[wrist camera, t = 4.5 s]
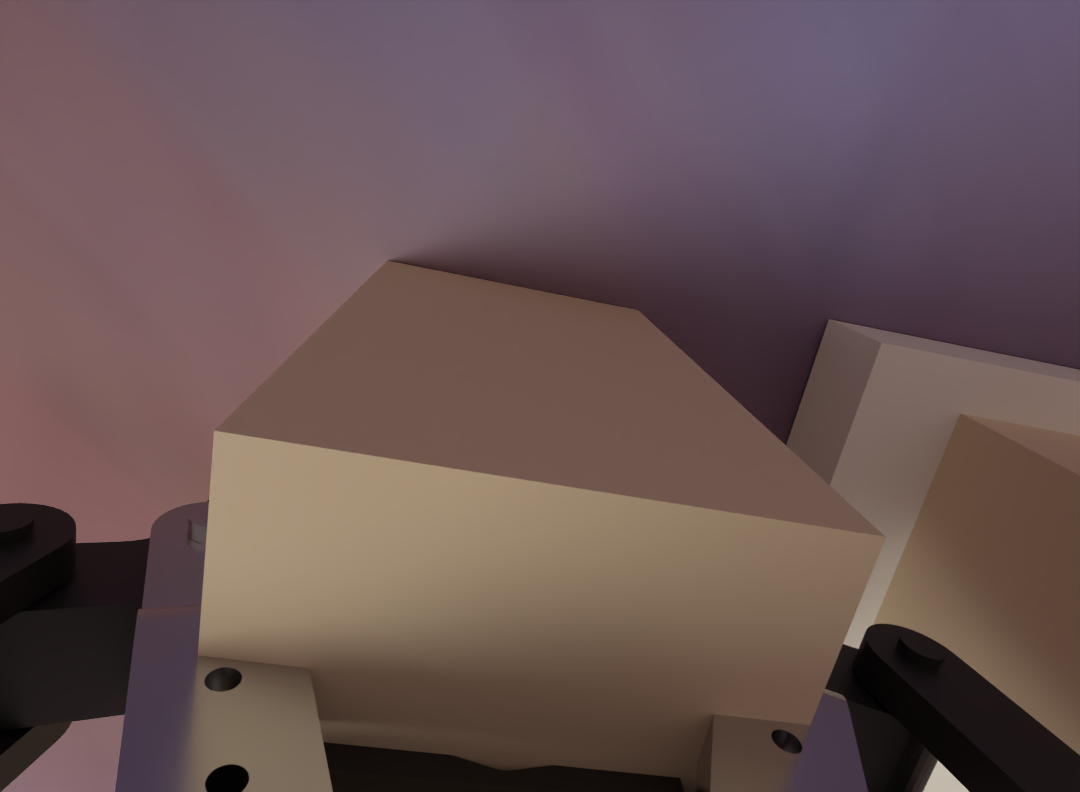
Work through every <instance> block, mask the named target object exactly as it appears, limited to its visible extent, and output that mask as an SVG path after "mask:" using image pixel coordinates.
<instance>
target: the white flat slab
mask: <svg viewBox="0 0 1080 792" xmlns="http://www.w3.org/2000/svg"><path fill="white" fill-rule="evenodd" d="M960 413H961V414H967V415H972V416H977V417H983V418H988V419H994V420H999V421H1004V422H1010V423H1015V424H1020V425H1026V426H1031V427H1037V428H1042V429H1047V430H1053V431H1058V432H1063V433H1069V434H1074V435H1080V370H1079V369H1074V368H1069V367H1064V366H1059V365H1054V364H1049V363H1044V362H1039V361H1034V360H1029V359H1024V358H1019V357H1014V356H1009V355H1004V354H999V353H994V352H989V351H984V350H979V349H974V348H969V347H964V346H959V345H954V344H949V343H944V342H939V341H934V340H929V339H924V338H920V337H915V336H910V335H905V334H900V333H895V332H890V331H885V330H880V329H875V328H870V327H865V326H860V325H855V324H850V323H845V322H840V321H835V320H830V319H829V320H828V323H827V326H826V329H825V332H824V335H823V338H822V341H821V344H820V347H819V350H818V353H817V355H816V358H815V361H814V364H813V367H812V370H811V373H810V376H809V379H808V382H807V385H806V388H805V391H804V394H803V397H802V400H801V403H800V406H799V409H798V412H797V415H796V418H795V421H794V423H793V426H792V429H791V432H790V435H789V438H788V441H787V444H786V446H787V447H788V448H789V449H790V450H791V451H793V452H794V453H795V454H796V455H797V456H798V457H799V458H800V459H801V460H802V461H803V462H805V463H806V464H807V465H808V466H809V467H810V468H811V469H812V470H813V471H814V472H815V473H817V474H818V475H819V476H820V477H821V478H822V479H823V480H824V481H825V482H826V483H828V484H829V485H830V486H831V487H832V488H833V489H834V490H835V491H836V492H837V493H838V494H840V495H841V496H842V497H843V498H844V499H845V500H846V501H847V502H848V503H849V504H850V505H852V506H853V507H854V508H855V509H856V510H857V511H858V512H859V513H860V514H861V515H862V516H864V517H865V518H866V519H867V520H868V521H869V522H870V523H871V524H872V525H873V526H875V527H876V528H877V529H878V530H879V531H880V532H881V533H882V534H883V535H884V536H885V537H886V538H885V541H884V543H883V546H882V548H881V551H880V553H879V556H878V558H877V561H876V563H875V565H874V568H873V570H872V573H871V575H870V578H869V580H868V583H867V585H866V588H865V590H864V593H863V595H862V598H861V600H860V603H859V605H858V608H857V610H856V613H855V615H854V618H853V620H852V623H851V625H850V628H849V630H848V633H847V635H846V638H845V640H844V643H843V644H844V645H847V646H851V647H854V648H857V649H859V646H860V644H861V641H862V639H863V637H864V634H865V632H866V630H867V628H868V627H870V626H871V625H873V623H874V621H875V619H876V616H877V614H878V611H879V609H880V607H881V604H882V602H883V599H884V597H885V594H886V592H887V590H888V587H889V585H890V582H891V580H892V577H893V575H894V573H895V570H896V568H897V565H898V563H899V561H900V558H901V556H902V553H903V551H904V548H905V546H906V544H907V541H908V539H909V536H910V534H911V532H912V529H913V527H914V524H915V522H916V519H917V517H918V515H919V512H920V510H921V507H922V505H923V503H924V500H925V498H926V495H927V493H928V490H929V488H930V486H931V483H932V481H933V478H934V476H935V474H936V471H937V469H938V466H939V464H940V461H941V459H942V457H943V454H944V452H945V449H946V447H947V445H948V442H949V440H950V437H951V435H952V432H953V430H954V428H955V425H956V423H957V420H958V418H959V416H960ZM923 792H969V791H968V790H967V789H966V788H965V787H964V786H963V785H962V784H961V783H960V782H959V781H958V780H957V779H956V778H955V777H954V776H953V775H952V774H951V773H950V772H949V771H948V770H947V769H946V768H945V767H944V766H943V765H942V764H941V763H940V762H939V761H937V763H936V766H935V768H934V770H933V772H932V774H931V776H930V778H929V780H928V782H927V784H926V786H925V788H924V791H923Z"/></svg>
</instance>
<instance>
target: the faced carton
mask: <svg viewBox="0 0 1080 792" xmlns="http://www.w3.org/2000/svg"><path fill="white" fill-rule="evenodd" d="M874 624H892V625H897V626H901V627H905V628H908V629H911V630H914V631H916V632H918V633H921V634H923V635H925V636H927V637H929V638H931V639H933V640H935V641H936V642H938V643H940V644H941V645H943V646H944V647H946V648H947V649H949V650H950V651H951V652H953V653H954V654H955V655H957V656H958V657H959V658H960V659H962V660H963V661H964V662H965V663H966V664H968V665H969V666H970V667H971V668H973V669H974V670H975V671H976V672H978V673H979V674H980V675H981V676H983V677H984V678H985V679H986V680H987V681H989V682H990V683H991V684H992V685H994V686H995V687H996V688H997V689H999V690H1000V691H1001V692H1002V693H1004V694H1005V695H1006V696H1007V697H1009V698H1010V699H1011V700H1012V701H1013V702H1015V703H1016V704H1017V705H1018V706H1020V707H1021V708H1022V709H1023V710H1025V711H1026V712H1027V713H1028V714H1030V715H1031V716H1032V717H1033V718H1034V719H1036V720H1037V721H1038V722H1039V723H1041V724H1042V725H1043V726H1044V727H1046V728H1047V729H1048V730H1049V731H1051V732H1052V733H1053V734H1054V735H1055V736H1057V737H1058V738H1059V739H1060V740H1062V741H1063V742H1064V743H1065V744H1067V745H1068V746H1069V747H1070V748H1072V749H1073V750H1074V751H1075V752H1076V753H1078V754H1079V755H1080V435H1074V434H1069V433H1063V432H1058V431H1053V430H1047V429H1042V428H1037V427H1031V426H1026V425H1020V424H1015V423H1010V422H1004V421H999V420H994V419H988V418H983V417H977V416H972V415H967V414H961V413H960V416H959V418H958V420H957V423H956V425H955V428H954V430H953V432H952V435H951V437H950V440H949V442H948V445H947V447H946V449H945V452H944V454H943V457H942V459H941V461H940V464H939V466H938V469H937V471H936V474H935V476H934V478H933V481H932V483H931V486H930V488H929V490H928V493H927V495H926V498H925V500H924V503H923V505H922V507H921V510H920V512H919V515H918V517H917V519H916V522H915V524H914V527H913V529H912V532H911V534H910V536H909V539H908V541H907V544H906V546H905V548H904V551H903V553H902V556H901V558H900V561H899V563H898V565H897V568H896V570H895V573H894V575H893V577H892V580H891V582H890V585H889V587H888V590H887V592H886V594H885V597H884V599H883V602H882V604H881V607H880V609H879V611H878V614H877V616H876V619H875V621H874V623H873V625H874Z"/></svg>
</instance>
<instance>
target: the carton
mask: <svg viewBox="0 0 1080 792" xmlns="http://www.w3.org/2000/svg"><path fill="white" fill-rule="evenodd" d="M885 538H886V537H885V536H884V535H883V534H882V533H881V532H880V531H879V530H878V529H877V528H876V527H875V526H873V525H872V524H871V523H870V522H869V521H868V520H867V519H866V518H865V517H864V516H862V515H861V514H860V513H859V512H858V511H857V510H856V509H855V508H854V507H853V506H852V505H850V504H849V503H848V502H847V501H846V500H845V499H844V498H843V497H842V496H841V495H840V494H838V493H837V492H836V491H835V490H834V489H833V488H832V487H831V486H830V485H829V484H828V483H826V482H825V481H824V480H823V479H822V478H821V477H820V476H819V475H818V474H817V473H815V472H814V471H813V470H812V469H811V468H810V467H809V466H808V465H807V464H806V463H805V462H803V461H802V460H801V459H800V458H799V457H798V456H797V455H796V454H795V453H794V452H793V451H791V450H790V449H789V448H788V447H787V446H786V445H785V444H784V443H783V442H782V441H780V440H779V439H778V438H777V437H776V436H775V435H774V434H773V433H772V432H771V431H770V430H768V429H767V428H766V427H765V426H764V425H763V424H762V423H761V422H760V421H759V420H758V419H756V418H755V417H754V416H753V415H752V414H751V413H750V412H749V411H748V410H747V409H746V408H744V407H743V406H742V405H741V404H740V403H739V402H738V401H737V400H736V399H735V398H733V397H732V396H731V395H730V394H729V393H728V392H727V391H726V390H725V389H724V388H723V387H721V386H720V385H719V384H718V383H717V382H716V381H715V380H714V379H713V378H712V377H711V376H709V375H708V374H707V373H706V372H705V371H704V370H703V369H702V368H701V367H700V366H698V365H697V364H696V363H695V362H694V361H693V360H692V359H691V358H690V357H689V356H688V355H686V354H685V353H684V352H683V351H682V350H681V349H680V348H679V347H678V346H677V345H676V344H674V343H673V342H672V341H671V340H670V339H669V338H668V337H667V336H666V335H665V334H664V333H662V332H661V331H660V330H659V329H658V328H657V327H656V326H655V325H654V324H653V323H651V322H650V321H649V320H648V319H647V318H646V317H645V316H644V315H643V314H642V313H641V312H639V311H638V310H635V309H630V308H625V307H620V306H615V305H610V304H605V303H599V302H594V301H589V300H584V299H579V298H574V297H569V296H564V295H559V294H554V293H549V292H544V291H539V290H534V289H529V288H524V287H518V286H513V285H508V284H503V283H498V282H493V281H488V280H483V279H478V278H473V277H468V276H463V275H458V274H453V273H448V272H442V271H437V270H432V269H427V268H422V267H417V266H412V265H407V264H402V263H397V262H392V261H387V262H386V263H385V264H384V265H383V266H382V267H381V268H380V269H379V270H377V271H376V272H375V273H374V274H373V275H372V276H371V277H370V278H369V279H368V280H367V281H366V282H365V283H364V284H363V285H362V286H361V287H360V288H359V289H358V290H357V291H356V292H355V293H354V294H353V295H352V296H351V297H350V298H349V299H348V300H347V301H346V302H345V303H344V304H343V305H342V306H341V307H340V308H339V309H338V310H337V311H336V312H335V313H334V314H333V315H332V316H331V317H330V318H329V319H328V320H327V321H326V322H325V323H324V324H323V325H321V326H320V327H319V328H318V329H317V330H316V331H315V332H314V333H313V334H312V335H311V336H310V337H309V338H308V339H307V340H306V341H305V342H304V343H303V344H302V345H301V346H300V347H299V348H298V349H297V350H296V351H295V352H294V353H293V354H292V355H291V356H290V357H289V358H288V359H287V360H286V361H285V362H284V363H283V364H282V365H281V366H280V367H279V368H278V369H277V370H276V371H275V372H274V373H273V374H272V375H271V376H270V377H269V378H268V379H267V380H266V381H264V382H263V383H262V384H261V385H260V386H259V387H258V388H257V389H256V390H255V391H254V392H253V393H252V394H251V395H250V396H249V397H248V398H247V399H246V400H245V401H244V402H243V403H242V404H241V405H240V406H239V407H238V408H237V409H236V410H235V411H234V412H233V413H232V414H231V415H230V416H229V417H228V418H227V419H226V420H225V421H224V422H223V423H222V424H221V425H220V426H219V427H218V428H217V429H216V430H215V431H214V442H213V455H212V469H211V482H210V496H209V509H208V523H207V536H206V550H205V563H204V577H203V591H202V604H201V618H200V631H199V645H198V655H199V656H208V657H217V658H226V659H234V660H243V661H252V662H261V663H270V664H278V665H287V666H296V667H305V668H309V670H310V676H311V681H312V686H313V691H314V696H315V702H316V707H317V712H318V717H319V722H320V728H321V733H322V738H323V742H326V743H336V744H346V745H356V746H366V747H376V748H386V749H396V750H406V751H417V752H427V753H437V754H447V755H454V756H457V757H460V758H463V759H466V760H469V761H472V762H476V763H479V764H482V765H485V766H488V767H491V768H494V769H499V770H506V771H508V770H519V769H527V768H535V767H542V766H550V765H557V766H567V767H577V768H587V769H597V770H607V771H617V772H627V773H637V774H647V775H657V776H667V777H677V778H680V780H681V783H682V786H683V789H684V792H695V789H696V775H697V761H698V758H699V755H700V752H701V749H702V747H703V744H704V741H705V738H706V735H707V732H708V729H709V726H710V724H711V721H712V718H713V715H714V714H717V715H726V716H735V717H743V718H752V719H761V720H770V721H779V722H787V723H796V724H805V725H811V722H812V720H813V717H814V715H815V712H816V710H817V707H818V705H819V702H820V700H821V697H822V695H823V692H824V690H825V687H826V685H827V682H828V680H829V677H830V675H831V672H832V670H833V667H834V665H835V662H836V660H837V657H838V655H839V652H840V650H841V647H842V645H843V643H844V640H845V638H846V635H847V633H848V630H849V628H850V625H851V623H852V620H853V618H854V615H855V613H856V610H857V608H858V605H859V603H860V600H861V598H862V595H863V593H864V590H865V588H866V585H867V583H868V580H869V578H870V575H871V573H872V570H873V568H874V565H875V563H876V561H877V558H878V556H879V553H880V551H881V548H882V546H883V543H884V541H885Z"/></svg>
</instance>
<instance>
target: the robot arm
mask: <svg viewBox="0 0 1080 792" xmlns="http://www.w3.org/2000/svg"><path fill="white" fill-rule="evenodd" d="M208 509H209V500H208V501H207V502H200V503H193V504H188V505H184V506H180V507H177V508H174V509H172V510H170V511H168V512H166V513H164V514H163V515H161V516H160V517H159V518H158V519H156V521H155V522H154V523H153V525H152V528H151V534H150V538H148V539H143V540H136V541H124V542H100V543H76V524H75V521H74V519H73V518H72V517H71V516H70V515H69V514H68V513H66V512H64V511H62V510H59V509H57V508H54V507H50V506H45V505H38V504H26V503H12V504H0V792H1V791H2V790H3V789H4V788H5V787H7V786H8V785H9V784H10V783H11V782H12V781H13V780H14V779H15V778H16V777H18V776H19V775H20V774H21V773H22V772H23V771H24V770H25V769H26V768H28V767H29V766H30V765H31V764H32V763H33V762H34V761H35V760H36V759H37V758H39V757H40V756H41V755H42V754H43V753H44V752H45V751H46V750H47V749H48V748H50V747H51V746H52V745H53V744H54V743H55V742H56V741H57V740H58V739H59V738H60V737H61V736H62V735H63V734H64V733H65V732H66V730H67V729H68V728H69V726H70V724H71V722H72V721H79V720H86V719H94V718H101V717H109V716H116V715H124V714H125V717H124V725H123V733H122V741H121V749H120V757H119V765H118V773H117V781H116V789H115V792H684V789H683V786H682V783H681V780H680V778H677V777H667V776H657V775H647V774H637V773H627V772H617V771H607V770H597V769H587V768H577V767H567V766H557V765H550V766H542V767H535V768H527V769H519V770H508V771H506V770H499V769H494V768H491V767H488V766H485V765H482V764H479V763H476V762H472V761H469V760H466V759H463V758H460V757H457V756H454V755H447V754H437V753H427V752H417V751H406V750H396V749H386V748H376V747H366V746H356V745H346V744H336V743H326V742H323V738H322V733H321V728H320V722H319V717H318V712H317V707H316V702H315V696H314V691H313V686H312V681H311V676H310V670H309V668H305V667H296V666H287V665H278V664H270V663H261V662H252V661H243V660H234V659H226V658H217V657H208V656H199V655H198V645H199V631H200V618H201V604H202V591H203V577H204V563H205V550H206V536H207V523H208ZM937 761H939V762H940V763H941V764H942V765H943V766H944V767H945V768H946V769H947V770H948V771H949V772H950V773H951V774H952V775H953V776H954V777H955V778H956V779H957V780H958V781H959V782H960V783H961V784H962V785H963V786H964V787H965V788H966V789H967V790H968V791H969V792H1080V755H1079V754H1078V753H1076V752H1075V751H1074V750H1073V749H1072V748H1070V747H1069V746H1068V745H1067V744H1065V743H1064V742H1063V741H1062V740H1060V739H1059V738H1058V737H1057V736H1055V735H1054V734H1053V733H1052V732H1051V731H1049V730H1048V729H1047V728H1046V727H1044V726H1043V725H1042V724H1041V723H1039V722H1038V721H1037V720H1036V719H1034V718H1033V717H1032V716H1031V715H1030V714H1028V713H1027V712H1026V711H1025V710H1023V709H1022V708H1021V707H1020V706H1018V705H1017V704H1016V703H1015V702H1013V701H1012V700H1011V699H1010V698H1009V697H1007V696H1006V695H1005V694H1004V693H1002V692H1001V691H1000V690H999V689H997V688H996V687H995V686H994V685H992V684H991V683H990V682H989V681H987V680H986V679H985V678H984V677H983V676H981V675H980V674H979V673H978V672H976V671H975V670H974V669H973V668H971V667H970V666H969V665H968V664H966V663H965V662H964V661H963V660H962V659H960V658H959V657H958V656H957V655H955V654H954V653H953V652H951V651H950V650H949V649H947V648H946V647H944V646H943V645H941V644H940V643H938V642H936V641H935V640H933V639H931V638H929V637H927V636H925V635H923V634H921V633H918V632H916V631H914V630H911V629H908V628H905V627H901V626H897V625H892V624H874V625H871V626H870V627H868V628H867V630H866V632H865V634H864V637H863V639H862V641H861V644H860V646H859V649H857V648H854V647H851V646H847V645H844V644H843V645H842V647H841V650H840V652H839V655H838V657H837V660H836V662H835V665H834V667H833V670H832V672H831V675H830V677H829V680H828V682H827V685H826V687H825V690H824V692H823V695H822V697H821V700H820V702H819V705H818V707H817V710H816V712H815V715H814V717H813V720H812V722H811V725H805V724H796V723H787V722H779V721H770V720H761V719H752V718H743V717H735V716H726V715H717V714H714V715H713V718H712V721H711V724H710V726H709V729H708V732H707V735H706V738H705V741H704V744H703V747H702V749H701V752H700V755H699V758H698V761H697V775H696V789H695V792H923V791H924V788H925V786H926V784H927V782H928V780H929V778H930V776H931V774H932V772H933V770H934V768H935V766H936V763H937Z"/></svg>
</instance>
